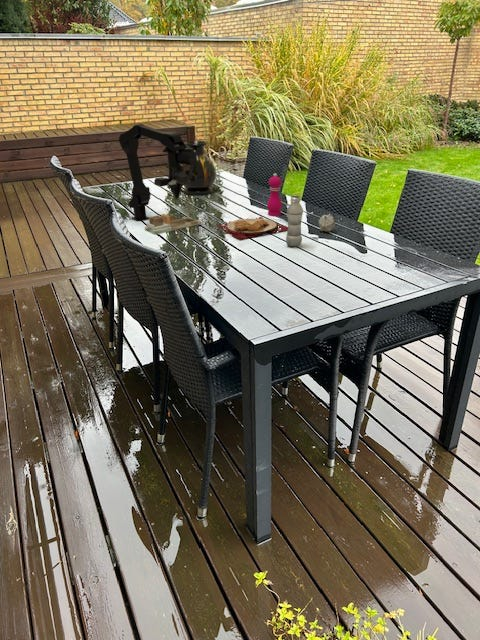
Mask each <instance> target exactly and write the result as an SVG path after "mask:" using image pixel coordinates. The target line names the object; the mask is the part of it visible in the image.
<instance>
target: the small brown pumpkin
mask: <svg viewBox="0 0 480 640" xmlns="http://www.w3.org/2000/svg"><path fill="white" fill-rule="evenodd" d="M321 213H322V212H321ZM334 216H335V214H332V215H331V214H330V215H328V214H324V213H322V215H321V217H320V219H319V220H318V221H317V220H316V221H315V222H316V223H317V224H318V227H319V232H320V231H321V232H329V233H330V232H332V230H333V229H334V227H335V226H338V225H337V223H336V221H335V219H334Z"/></svg>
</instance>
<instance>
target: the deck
mask: <svg viewBox="0 0 480 640" xmlns="http://www.w3.org/2000/svg"><path fill="white" fill-rule="evenodd" d="M169 216H170V224H171V226H168V227H163V228H159V229H155V230H153V229H151V228H149V227H147V225H146V226H144V230H145V231H146V232H149V233H151V234H154V235H159V234H160V235H161V234H163V233H169V232H172V231H173V232H174V231H176V230H181V229H184V228H189V227H193V226H198V225H200V223H201V222H200V220H198V219H194V218H192V217H191V216H188V217H184V218H179V219H177V218H176V217H177V216H176V214H172V215H169Z"/></svg>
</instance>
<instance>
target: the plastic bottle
mask: <svg viewBox="0 0 480 640" xmlns="http://www.w3.org/2000/svg"><path fill="white" fill-rule="evenodd" d="M300 202H301V196H299V195H291V196H290V204H289V205H288V207H287V209H286V213H287V214H286V215H287V216H286V217H287V227H288V230H286V231H287V232H286V238H285V243H286V245H288V247H293V246H294V247H299V246H300V245H301V244H302V240H303V238H302V221H303V214H304V209H303V206H302V204H301V203H300Z"/></svg>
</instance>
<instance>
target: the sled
mask: <svg viewBox="0 0 480 640" xmlns="http://www.w3.org/2000/svg"><path fill="white" fill-rule="evenodd" d="M170 216H171V215H167V214H165V213H163V214H160V217H163V225H162V226H157V227H155V225H152V224H150V222H146V226H147V227H149V228H151V229H153V230H155V229H159V228H163V227H168V226H171V224H170Z"/></svg>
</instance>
